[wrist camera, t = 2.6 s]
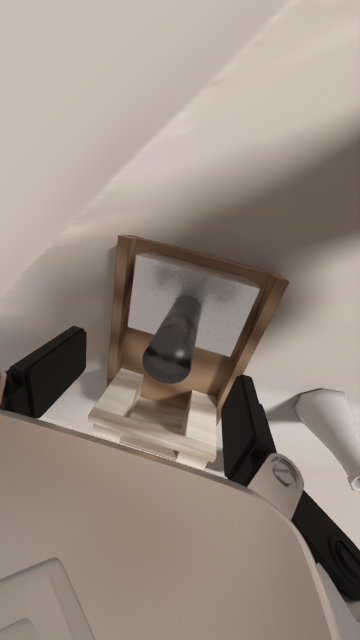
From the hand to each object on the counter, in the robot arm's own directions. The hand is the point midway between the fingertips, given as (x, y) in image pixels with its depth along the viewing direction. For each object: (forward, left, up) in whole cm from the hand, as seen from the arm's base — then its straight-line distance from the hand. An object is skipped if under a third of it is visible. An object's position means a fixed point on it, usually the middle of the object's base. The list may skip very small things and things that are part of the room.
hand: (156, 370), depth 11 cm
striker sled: (0, 0, -13) cm, 13 cm away
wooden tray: (+7, 0, -15) cm, 17 cm away
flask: (+11, +23, -15) cm, 30 cm away
